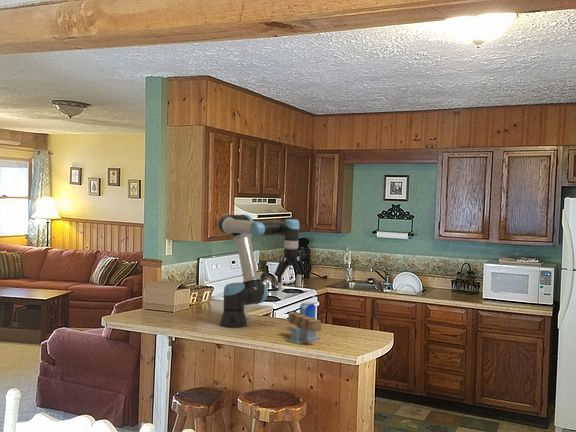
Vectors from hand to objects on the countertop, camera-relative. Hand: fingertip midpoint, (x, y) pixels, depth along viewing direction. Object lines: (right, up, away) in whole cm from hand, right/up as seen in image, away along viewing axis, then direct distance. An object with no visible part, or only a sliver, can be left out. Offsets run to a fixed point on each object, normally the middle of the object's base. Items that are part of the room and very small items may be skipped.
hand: (289, 287), depth 318 cm
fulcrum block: (+7, -25, -14) cm, 30 cm away
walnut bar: (+8, -18, -15) cm, 25 cm away
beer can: (+10, -25, +5) cm, 27 cm away
